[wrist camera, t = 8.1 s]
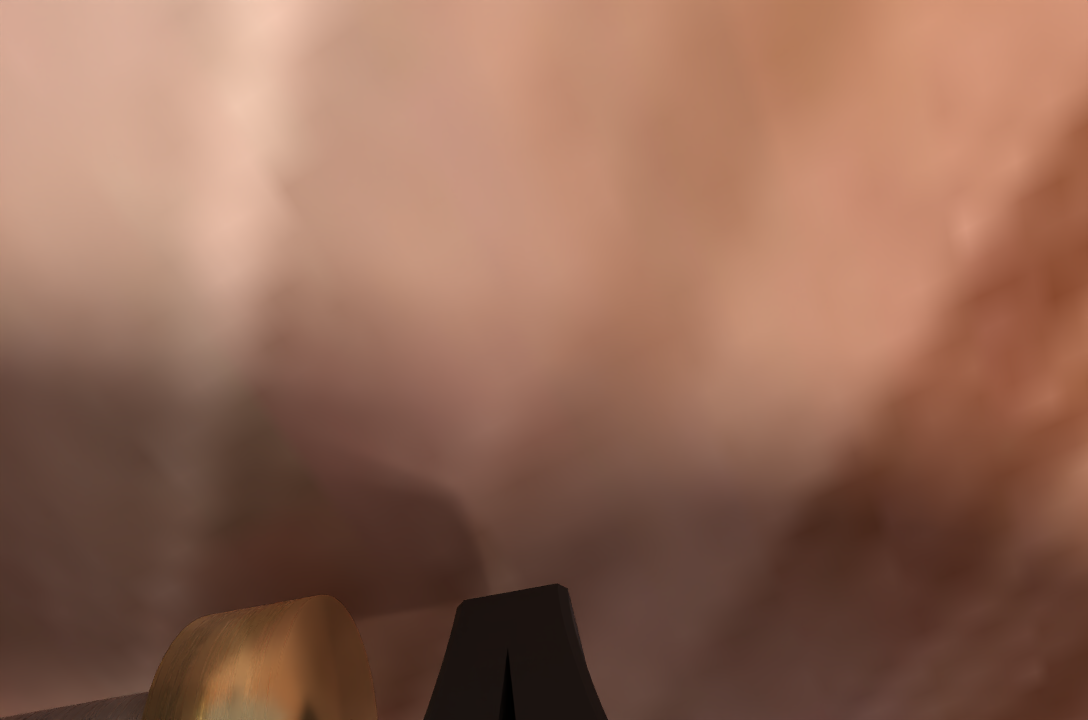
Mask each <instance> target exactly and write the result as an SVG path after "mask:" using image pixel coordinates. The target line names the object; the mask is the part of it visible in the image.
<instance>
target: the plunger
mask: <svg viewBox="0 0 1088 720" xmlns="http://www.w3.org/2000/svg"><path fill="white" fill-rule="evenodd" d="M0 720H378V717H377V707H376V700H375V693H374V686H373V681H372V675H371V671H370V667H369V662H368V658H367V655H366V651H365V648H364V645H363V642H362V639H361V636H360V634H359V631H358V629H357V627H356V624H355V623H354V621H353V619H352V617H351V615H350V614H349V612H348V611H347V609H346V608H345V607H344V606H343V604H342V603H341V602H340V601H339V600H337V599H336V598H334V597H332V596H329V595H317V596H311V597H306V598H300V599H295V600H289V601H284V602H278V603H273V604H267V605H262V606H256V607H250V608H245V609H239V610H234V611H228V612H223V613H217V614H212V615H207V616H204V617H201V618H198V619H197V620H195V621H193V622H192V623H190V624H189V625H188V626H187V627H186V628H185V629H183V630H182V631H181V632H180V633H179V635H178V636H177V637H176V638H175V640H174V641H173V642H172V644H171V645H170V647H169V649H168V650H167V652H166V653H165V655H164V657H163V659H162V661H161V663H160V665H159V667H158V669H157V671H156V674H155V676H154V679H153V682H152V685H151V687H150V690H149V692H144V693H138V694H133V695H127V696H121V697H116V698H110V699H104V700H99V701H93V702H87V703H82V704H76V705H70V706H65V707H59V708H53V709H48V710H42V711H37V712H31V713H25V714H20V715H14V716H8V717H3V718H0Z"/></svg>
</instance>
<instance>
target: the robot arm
mask: <svg viewBox="0 0 1088 720" xmlns="http://www.w3.org/2000/svg"><path fill="white" fill-rule="evenodd" d="M424 720H608V719H607V717H606V714H605V712H604V710H603V707H602V705H601V703H600V700H599V698H598V695H597V693H596V690H595V688H594V685H593V683H592V680H591V677H590V674H589V671H588V668H587V665H586V661H585V657H584V653H583V649H582V645H581V641H580V637H579V633H578V628H577V624H576V620H575V616H574V612H573V608H572V604H571V600H570V596H569V592H568V588H566V587H564V586H562V585H560V584H552V585H547V586H541V587H535V588H530V589H524V590H519V591H513V592H507V593H502V594H496V595H491V596H485V597H479V598H474V599H468V600H464V601H463V602H462V603H461V604H460V605H459V606H458V608H457V611H456V615H455V619H454V623H453V627H452V631H451V635H450V638H449V642H448V645H447V649H446V652H445V656H444V659H443V663H442V666H441V669H440V672H439V675H438V678H437V681H436V684H435V688H434V691H433V694H432V697H431V700H430V703H429V706H428V709H427V711H426V714H425V717H424Z"/></svg>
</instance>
